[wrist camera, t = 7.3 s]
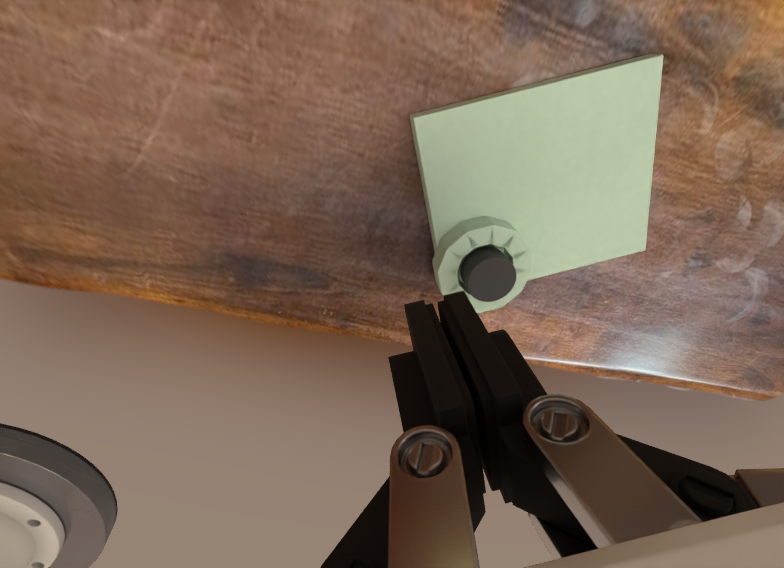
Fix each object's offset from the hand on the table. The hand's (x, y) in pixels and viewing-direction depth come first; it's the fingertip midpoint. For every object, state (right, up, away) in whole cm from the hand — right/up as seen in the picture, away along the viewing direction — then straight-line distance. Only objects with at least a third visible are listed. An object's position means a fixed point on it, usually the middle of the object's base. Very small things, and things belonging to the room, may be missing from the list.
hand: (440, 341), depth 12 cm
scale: (+8, +8, +15) cm, 19 cm away
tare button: (+4, +3, +15) cm, 15 cm away
